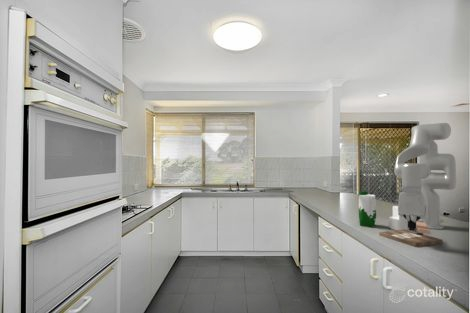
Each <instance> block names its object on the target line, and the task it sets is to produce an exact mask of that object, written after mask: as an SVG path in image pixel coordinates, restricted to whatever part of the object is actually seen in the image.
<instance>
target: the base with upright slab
mask: <svg viewBox="0 0 470 313" xmlns="http://www.w3.org/2000/svg"><path fill="white" fill-rule="evenodd" d="M398 213H399V212H398V205H392V216H389V218H388V219H389V220H388V222H389V223H388V224H389V226H388V227H389V229H390V228H391V229H390V230H393V229H394V230H393V231H395V230H403V229H405V230H409V228H408V221H407V220H406V219H405V218H404V217H403V216H400V215H398ZM409 231H410V230H409Z"/></svg>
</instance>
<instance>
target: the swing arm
mask: <svg viewBox="0 0 470 313" xmlns="http://www.w3.org/2000/svg"><path fill="white" fill-rule="evenodd" d="M415 230H416V232H417V231H418V233H423V234H425V235H430V234H431V233H430V232H431V230H430V228H428V227H427V225H426V224H425V223H423V221H419V220H418V221H416V229H415Z"/></svg>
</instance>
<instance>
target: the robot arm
mask: <svg viewBox="0 0 470 313" xmlns="http://www.w3.org/2000/svg"><path fill="white" fill-rule="evenodd" d="M410 130H411V133H410V134H411V137H410V142H409V146H408V147H407V148H404V150H402V151H401V152H400V153H399V154H398V156H396V159H395V164H394V169H393V170H394V175H395V176H396V177H397V178H399V179H401V186H398V187H397V190H399V191H401V192H399V194H398V201H397V204H398V205H397V206H398V212H399V213H398V215H400V216H403V217H404V218H405V219H406V220H407V221H408V228H409V231H413V232H415V231H416V230H417V229H416V221H423V223H425V224H426V225H427V227H428V228H429V230H430V229H433V230H442V229H444V227H445V226H444V224H443V223H444V222H445V220H444V219H443V218H441V201H440V200H441V198H440V195H439V193H438V192H436V190H444V191H445V190H447V191H451V190H455V189H456V187H457V168H456V167H457V164H456V158H455V155H453V154H451V153H439V152H438V151H439V150H438V144H437V143H436V142H435V141H439V140H441V141H442V140H446V139H449V137H450V136H451V133H452V132H451V131H452V127H451V125H450V124H449V123H447V122H438V123H425V124H418V125H415V126H412V127H411V129H410ZM415 158H418V160H419V162H418V163H416V162H414V163H413V162H412V163H411V162H408V161H410V160H413V159H415ZM407 162H408V163H407ZM431 171H432V172H431ZM433 171H443V172H433ZM412 216H413V217H412ZM441 223H442V224H443V225H442V224H441Z"/></svg>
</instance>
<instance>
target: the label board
mask: <svg viewBox="0 0 470 313" xmlns="http://www.w3.org/2000/svg"><path fill="white" fill-rule="evenodd" d="M378 235H379V236H381V237H384V238H388V239H390V240H393V241H396V242H399V243H402V244H404V245H405V244H406V245H409V246H412V247H414V248H417V247H423V246H424V247H425V246H430V245H437V244H443V243H444V241H443V239H442V238H440V237H439V238H438V237H435V236H432V235H429V234H425V233H418V231H417V230H416V231H412V230H405V229H403V230H389V231H386V230H385V231H379V234H378Z"/></svg>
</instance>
